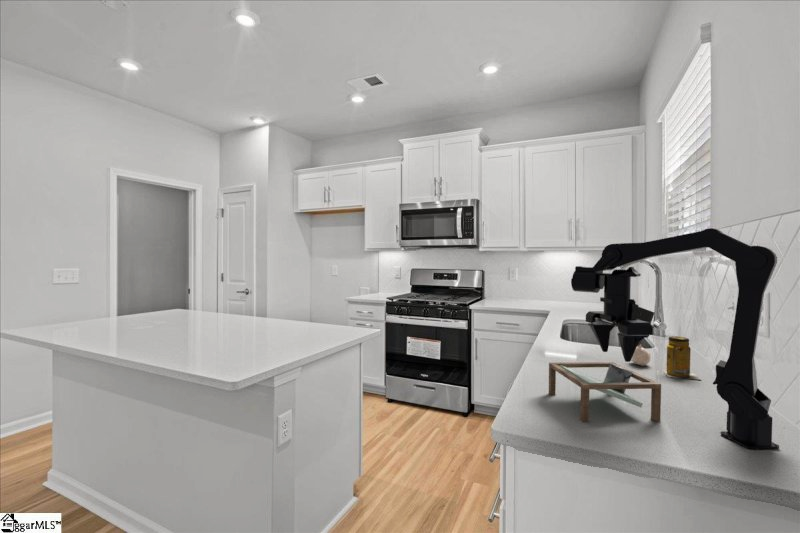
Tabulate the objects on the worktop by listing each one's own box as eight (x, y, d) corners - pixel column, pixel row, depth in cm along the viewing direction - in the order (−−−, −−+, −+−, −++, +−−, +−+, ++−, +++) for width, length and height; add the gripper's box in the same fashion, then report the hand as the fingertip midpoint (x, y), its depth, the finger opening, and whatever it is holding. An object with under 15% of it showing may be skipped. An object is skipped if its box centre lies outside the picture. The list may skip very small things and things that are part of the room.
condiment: (662, 370, 125) (663, 334, 125) (694, 374, 122) (695, 336, 121) (668, 377, 118) (669, 339, 118) (701, 381, 115) (702, 341, 115)
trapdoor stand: (660, 421, 87) (661, 384, 86) (583, 422, 86) (583, 385, 86) (612, 392, 105) (613, 362, 104) (548, 393, 104) (549, 362, 104)
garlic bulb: (625, 363, 133) (625, 340, 133) (636, 361, 136) (637, 339, 136) (644, 368, 127) (644, 344, 127) (656, 366, 130) (656, 343, 130)
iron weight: (628, 395, 93) (636, 374, 93) (610, 388, 93) (618, 367, 93) (616, 388, 98) (623, 368, 98) (598, 381, 98) (606, 361, 98)
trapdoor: (641, 407, 88) (642, 403, 88) (586, 386, 88) (588, 382, 88) (605, 386, 102) (607, 383, 102) (558, 368, 102) (560, 364, 102)
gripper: (677, 298, 86) (675, 367, 86) (624, 290, 104) (623, 347, 105) (629, 298, 85) (627, 367, 86) (585, 290, 104) (584, 347, 104)
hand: (615, 356), depth 95 cm, fingers open, 9 cm apart
